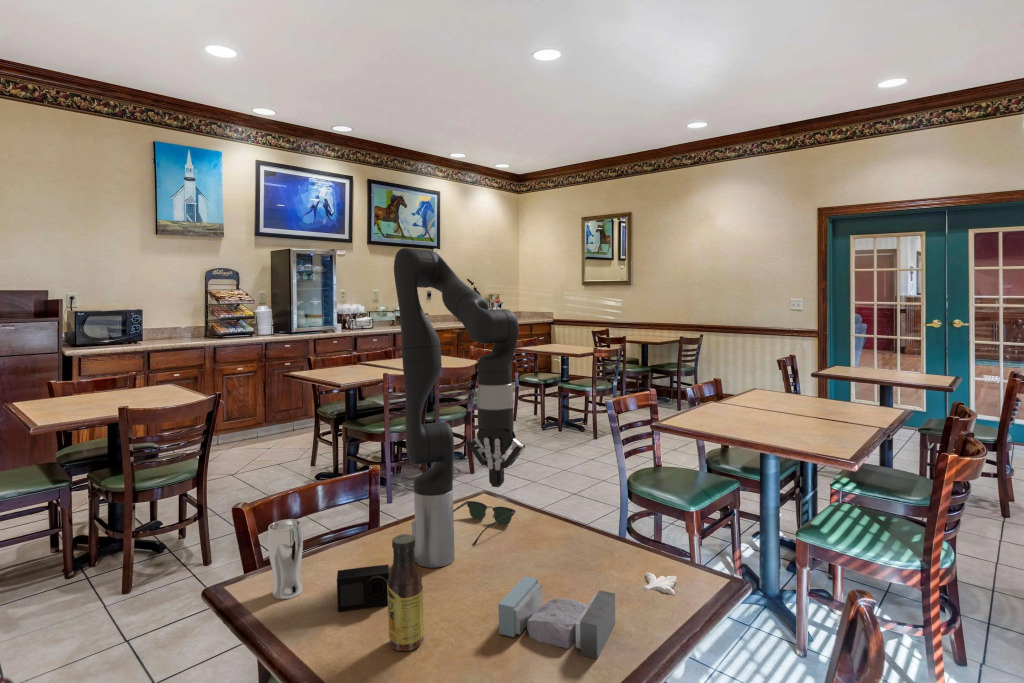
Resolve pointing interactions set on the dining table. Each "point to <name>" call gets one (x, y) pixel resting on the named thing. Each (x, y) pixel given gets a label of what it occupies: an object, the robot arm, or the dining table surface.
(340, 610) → the digital camera
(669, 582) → the acanthus leaf ornament
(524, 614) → the block
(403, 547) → the sauce bottle
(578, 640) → the block
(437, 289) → the robot arm
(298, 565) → the beer glass
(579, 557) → the dining table surface
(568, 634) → the stone block
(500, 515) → the sunglasses
